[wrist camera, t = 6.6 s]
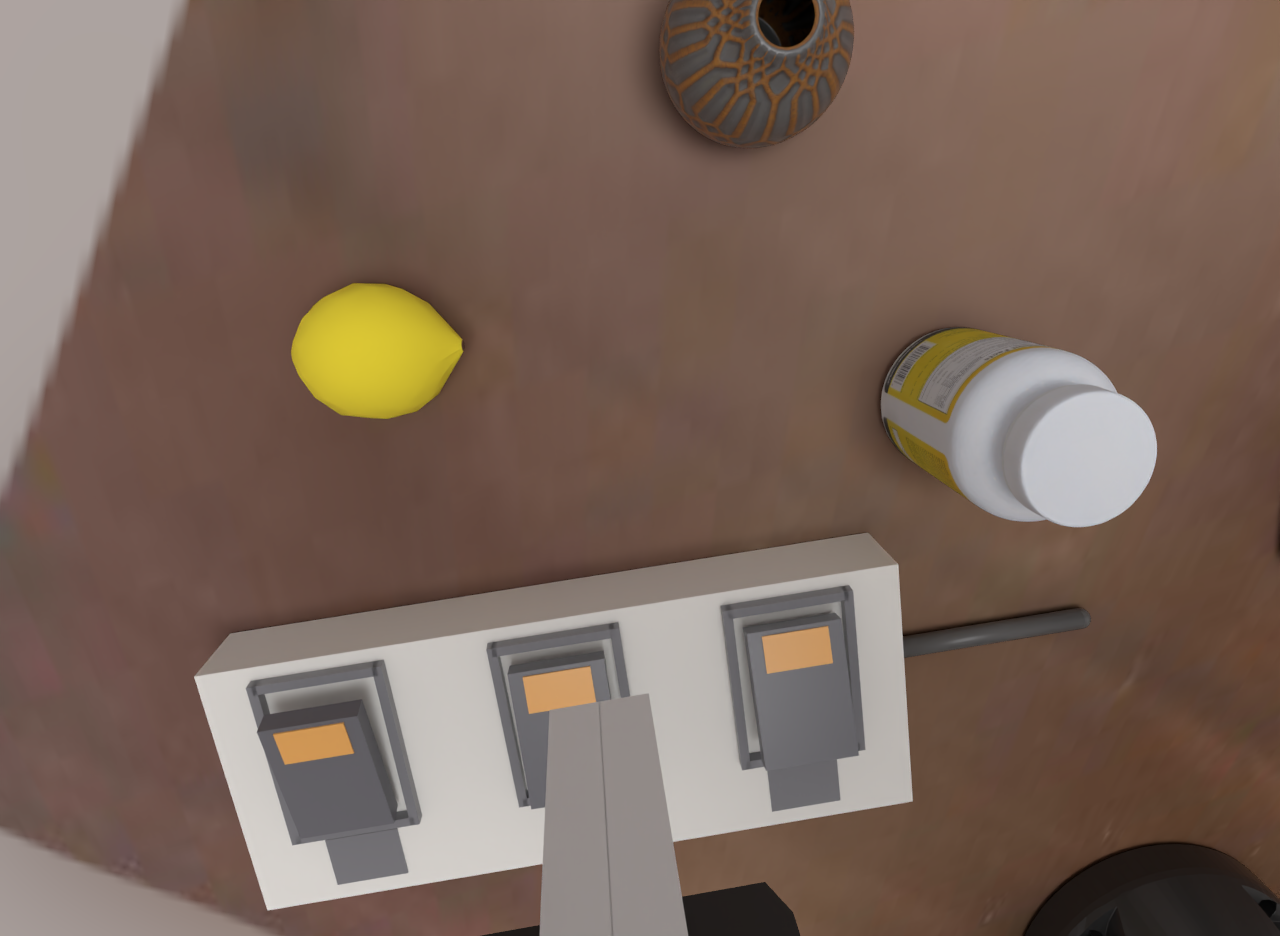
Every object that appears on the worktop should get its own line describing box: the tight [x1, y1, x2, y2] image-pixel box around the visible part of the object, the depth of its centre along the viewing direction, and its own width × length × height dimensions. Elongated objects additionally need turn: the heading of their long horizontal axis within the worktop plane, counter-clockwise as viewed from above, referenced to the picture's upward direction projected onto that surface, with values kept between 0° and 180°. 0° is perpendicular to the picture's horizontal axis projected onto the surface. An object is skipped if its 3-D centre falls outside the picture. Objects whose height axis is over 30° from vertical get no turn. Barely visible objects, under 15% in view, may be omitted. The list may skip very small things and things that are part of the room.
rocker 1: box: [257, 699, 398, 839], centre depth 37 cm, size 6×4×1 cm, turn 8°
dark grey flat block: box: [507, 651, 611, 810], centre depth 37 cm, size 6×4×1 cm, turn 8°
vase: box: [659, 0, 854, 148], centre depth 31 cm, size 7×7×9 cm
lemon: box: [291, 283, 464, 419], centre depth 35 cm, size 7×5×5 cm
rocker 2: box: [743, 613, 859, 771], centre depth 37 cm, size 6×4×1 cm, turn 8°
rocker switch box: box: [194, 533, 1091, 910], centre depth 40 cm, size 12×40×5 cm, turn 98°
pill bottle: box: [881, 327, 1157, 527], centre depth 34 cm, size 6×6×12 cm
